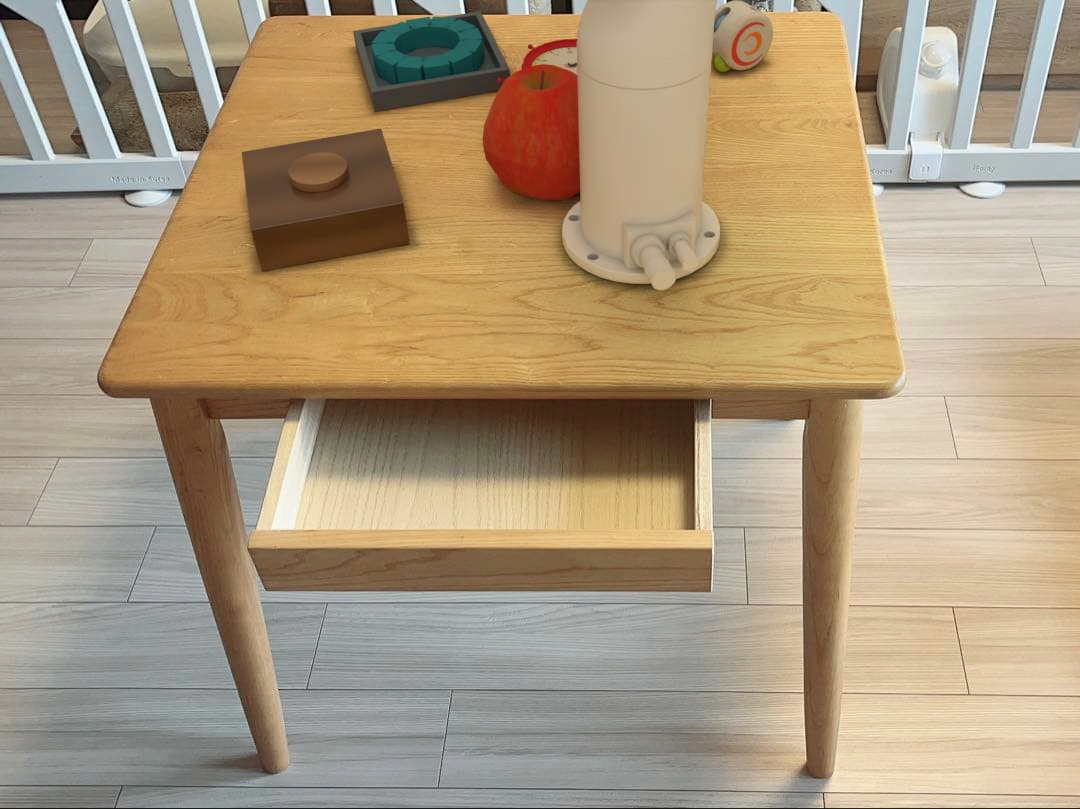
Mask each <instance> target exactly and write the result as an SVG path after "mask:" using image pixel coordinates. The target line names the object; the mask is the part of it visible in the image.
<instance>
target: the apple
mask: <svg viewBox="0 0 1080 809" xmlns="http://www.w3.org/2000/svg"><path fill="white" fill-rule="evenodd" d="M482 146H483V147H482V148H483V153H484V157H485V158H484V159H485V160H486V162H487V163H488V165H489V166H490V168H491V170H492V171H493V172H494V174H495V175H496V178H498V180H499V181H500V183H501V184H502V185H503V186H504V187H505V188H507V189H509V190H511V191H512V192H514V193H516V194H519V195H523V196H527V197H530V198H534V199H540V200H547V201H562V200H568V199H570V198H572V197H574V196H576V195H579V194H580V160H579V120H578V80H577V75H576V74H575V73H573V72H571V71H569V70H566V69H563V68H560V67H558V66H555V65H547V64H541V65H535V66H531V67H527V68H524V69H522V68H521V69H519V70H517V71H515V72H513V73H511V74H510V76H509V77H508V78H507V79H506V80H505V81H504V83H503V84H502V86H501V87H500V89H499V90H498V91H496V95H495V97H494V98H493V101H492V103H491V106H490V108H489V111H488V113H487V116H486V118H485V121H484V123H483V130H482Z"/></svg>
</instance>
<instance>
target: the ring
mask: <svg viewBox="0 0 1080 809" xmlns="http://www.w3.org/2000/svg"><path fill="white" fill-rule="evenodd" d="M392 25H393V26H391V27H388V28H386V29H384V30H383V31H384V32H383V31H381V32H380V33H379V34H378V35H377V37H376V38H375V39H374V40H373V42H372V45H371V47H372V53H373V59H374V65H375V68H376V71H377V74H378V76H380V78H381V79H383V80H385V81H387V82H389V83H391V84H393V85H396V84H402V83H408V82H414V81H420V80H426V79H432V78H438V77H445V76H451V75H457V74H463V73H469V72H475V71H478V69H479V68H480V66H481V65H482V63H483V62H484V47H483V38H482V36H481V34H480V32H479V30H478V28H476V27H475V26H474V25H472V24H469V23H467V22H465V21H462V20H460V19H459V20H457V21H456V18H446V16H432V17H431V16H424V17H418V18H411V19H406V20H405V21H400V22H398V23H395V25H394V24H392ZM431 46H436V47H447V48H450V49H452V50H450V51H448V52H446V53H444V54H441V55H435V56H429V57H414V56H407V55H405V54H406V53H408V52H410V51H412V50H414V49H418V48H425V47H431Z"/></svg>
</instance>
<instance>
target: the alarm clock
mask: <svg viewBox="0 0 1080 809" xmlns="http://www.w3.org/2000/svg"><path fill="white" fill-rule="evenodd" d="M527 49H528V50H529V51H528V52H527V53H526V54H525V56H524V58H523V60H522V63H521V69H524V68H527V67H531V66H535V65H541V64H547V65H555V66H558V67H560V68H563V69H566V70H569V71H571V72H573V73H575V74H576V75H577V38H566V39H564V38H563V39H557V40H556V39H555V40H552V41H548V42H545V43H542V44H539V45H538V46H536V47H534V46H533V44H531V43H530V44H528V45H527ZM505 80H506V79H501V78H498V83H501V82H502V81H505Z"/></svg>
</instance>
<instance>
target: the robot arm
mask: <svg viewBox="0 0 1080 809" xmlns="http://www.w3.org/2000/svg"><path fill="white" fill-rule="evenodd" d="M717 1H718V0H586V2H585V5H584V7H583V10H582V13H581V16H580V20H579V24H578V27H577V28H578V29H577V35H576V36H577V37H576V39H577V80H578V120H579V160H580V193H579V194H580V196H579V197H580V198H579V199H580V200H579V201H577V202H576V203H574V204H573V205H572V207H571V208H570V209H569V210H568V211H567V213H566V214H565V216H564V218H563V220H562V226H561V240H562V241H561V242H562V245H563V248H564V251H565V253H566V254H567V256H568V257H569V259H570V260H572V261H573V263H574V264H576V265H577V266H578V267H580V268H581V269H582V270H584V271H586V272H588V273H589V274H592V275H594V276H596V277H599V278H601V279H605V280H607V281H612V282H616V283H622V284H630V285H650V284H651V286H652V287H653V289H655V290H657V291H665V290H668V289H670V288H671V287H673V285H675V283H676V281H677V279H678V280H679V279H680V278H683V277H685V276H688V275H690V274H692V273H694V272H696V271H698V270H699V269H701V268H703V267H704V266H705V265H706V264H707V263H708V262H710V261H711V260H712V258H713V257H714V256H715V254H716V253H717V252H718V248H719V245H720V241H721V240H720V239H721V238H720V237H721V224H720V223H721V222H720V220H719V218H718V215H717V214H716V212H715V210H713V208H712V207H711V206H710V205H709V204H708V203H707V202H705V201H704V200H703V198H704V184H705V183H704V182H705V167H706V151H707V134H708V120H709V105H710V88H711V71H712V70H711V69H712V60H713V55H712V48H713V34H714V22H715V11H716V10H717Z"/></svg>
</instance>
